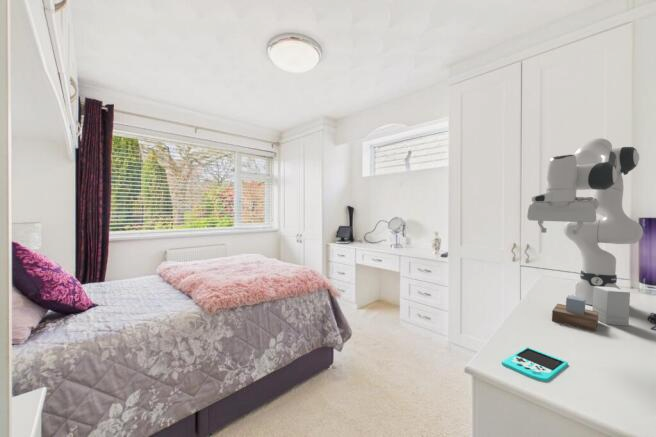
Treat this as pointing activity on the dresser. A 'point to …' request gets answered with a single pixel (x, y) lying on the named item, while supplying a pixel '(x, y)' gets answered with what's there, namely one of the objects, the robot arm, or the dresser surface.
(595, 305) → the supplement box
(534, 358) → the handheld game console
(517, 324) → the dresser surface
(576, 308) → the slate block
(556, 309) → the walnut base
